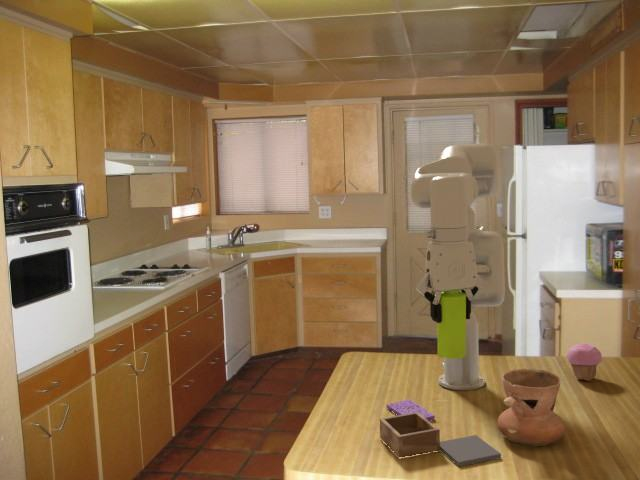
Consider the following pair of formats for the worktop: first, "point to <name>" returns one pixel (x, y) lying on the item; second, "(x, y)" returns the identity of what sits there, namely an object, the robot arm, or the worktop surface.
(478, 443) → the mat
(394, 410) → the sponges
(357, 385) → the worktop surface
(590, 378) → the cupcake
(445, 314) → the soap dispenser
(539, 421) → the ceramic jug
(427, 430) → the holder
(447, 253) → the robot arm
